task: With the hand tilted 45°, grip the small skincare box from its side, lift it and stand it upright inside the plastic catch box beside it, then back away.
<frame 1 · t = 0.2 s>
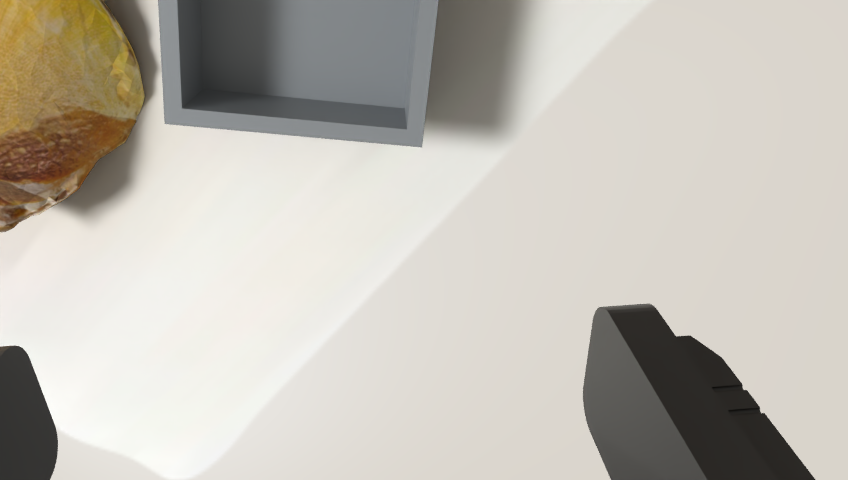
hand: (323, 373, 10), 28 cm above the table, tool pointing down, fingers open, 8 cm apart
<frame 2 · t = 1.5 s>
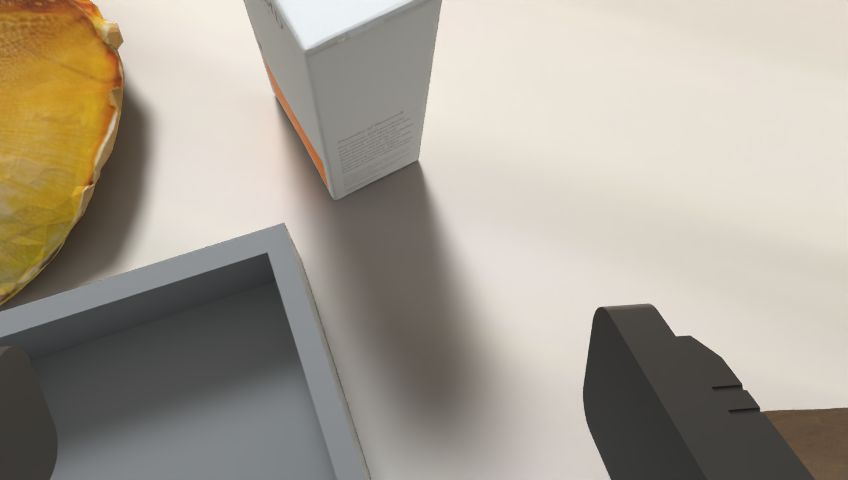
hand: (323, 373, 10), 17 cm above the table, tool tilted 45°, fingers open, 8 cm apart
catch box: (178, 462, 25), on the table
skincare box: (345, 129, 29), on the table
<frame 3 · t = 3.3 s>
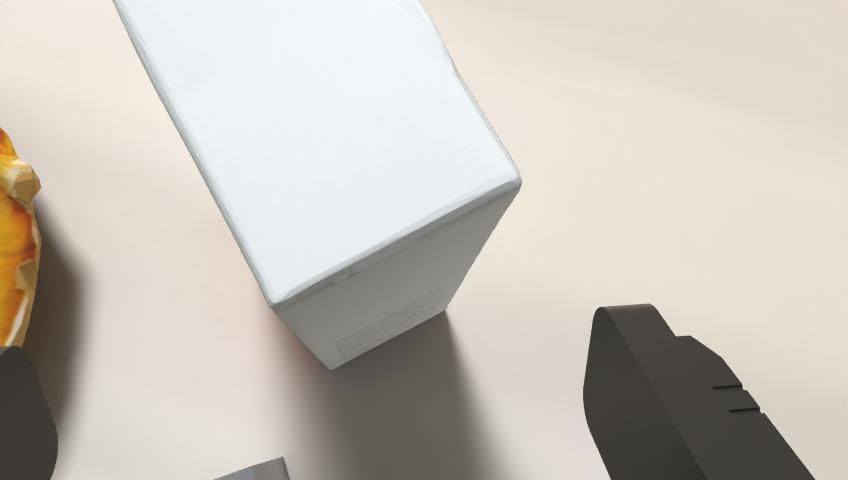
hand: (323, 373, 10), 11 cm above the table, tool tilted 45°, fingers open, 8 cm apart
skincare box: (346, 263, 21), on the table
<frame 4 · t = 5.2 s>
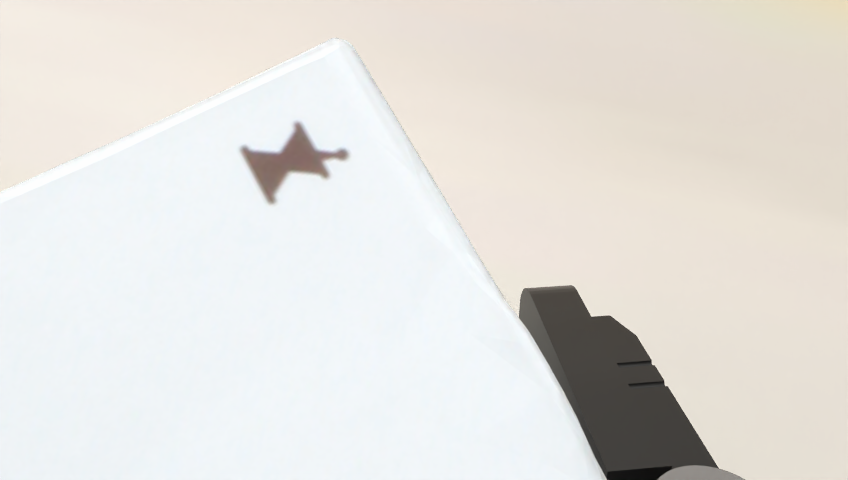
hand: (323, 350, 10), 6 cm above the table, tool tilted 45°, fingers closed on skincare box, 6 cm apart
skincare box: (349, 453, 16), on the table, touching gripper
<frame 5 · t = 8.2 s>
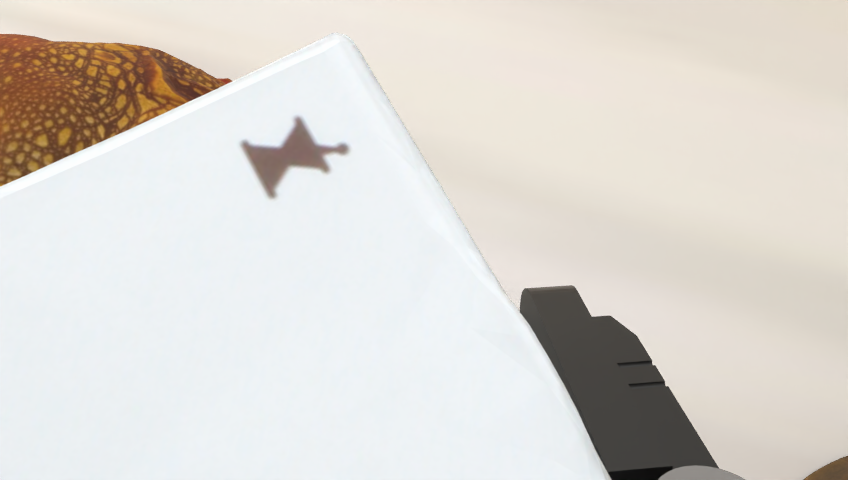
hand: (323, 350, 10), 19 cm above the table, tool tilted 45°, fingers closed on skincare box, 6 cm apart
seashell: (113, 227, 30), on the table
skincare box: (349, 451, 16), point 12 cm above the table, touching gripper
when the fingers open (8 cm above the table, at t = 11.4 s): skincare box drops 1 cm, resting on catch box.
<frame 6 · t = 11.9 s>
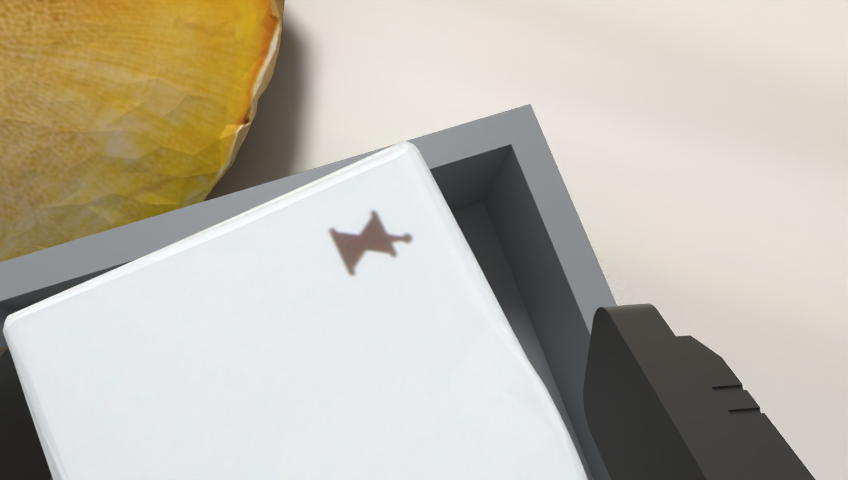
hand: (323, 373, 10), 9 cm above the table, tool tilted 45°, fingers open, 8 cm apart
seashell: (21, 62, 21), on the table
catch box: (350, 450, 18), on the table
skincare box: (366, 458, 17), point 1 cm above the table, touching catch box
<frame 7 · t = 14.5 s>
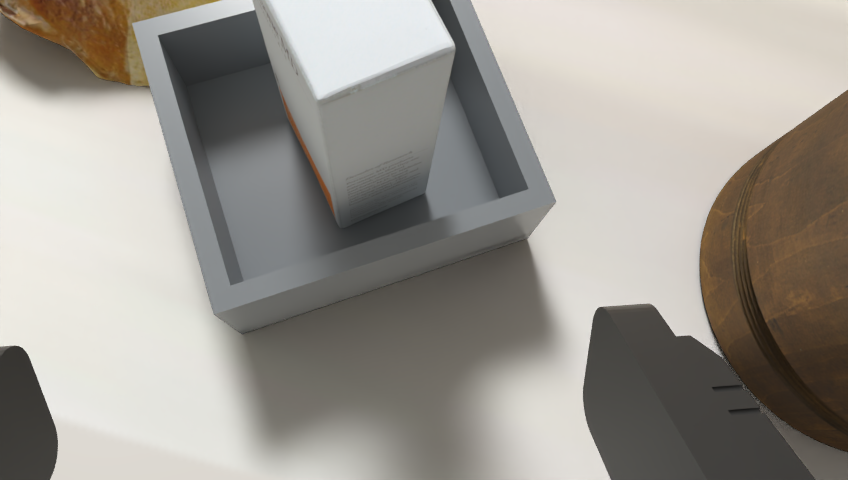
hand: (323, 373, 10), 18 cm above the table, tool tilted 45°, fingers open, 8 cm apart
catch box: (346, 161, 30), on the table
skincare box: (355, 157, 30), point 1 cm above the table, touching catch box
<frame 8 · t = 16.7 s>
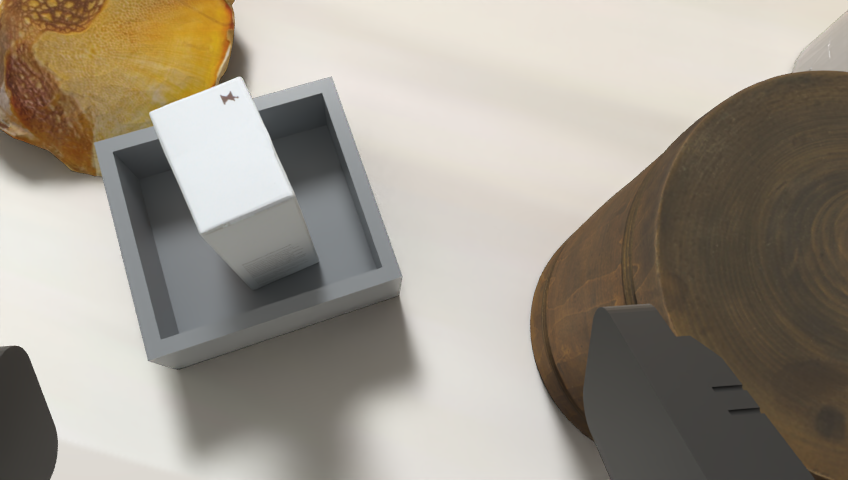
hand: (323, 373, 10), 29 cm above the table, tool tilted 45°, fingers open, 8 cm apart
seashell: (107, 60, 43), on the table
catch box: (261, 235, 40), on the table
skincare box: (267, 234, 39), point 1 cm above the table, touching catch box
wooden container: (651, 333, 40), on the table
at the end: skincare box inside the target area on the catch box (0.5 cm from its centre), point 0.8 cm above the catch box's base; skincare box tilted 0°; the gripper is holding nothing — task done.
